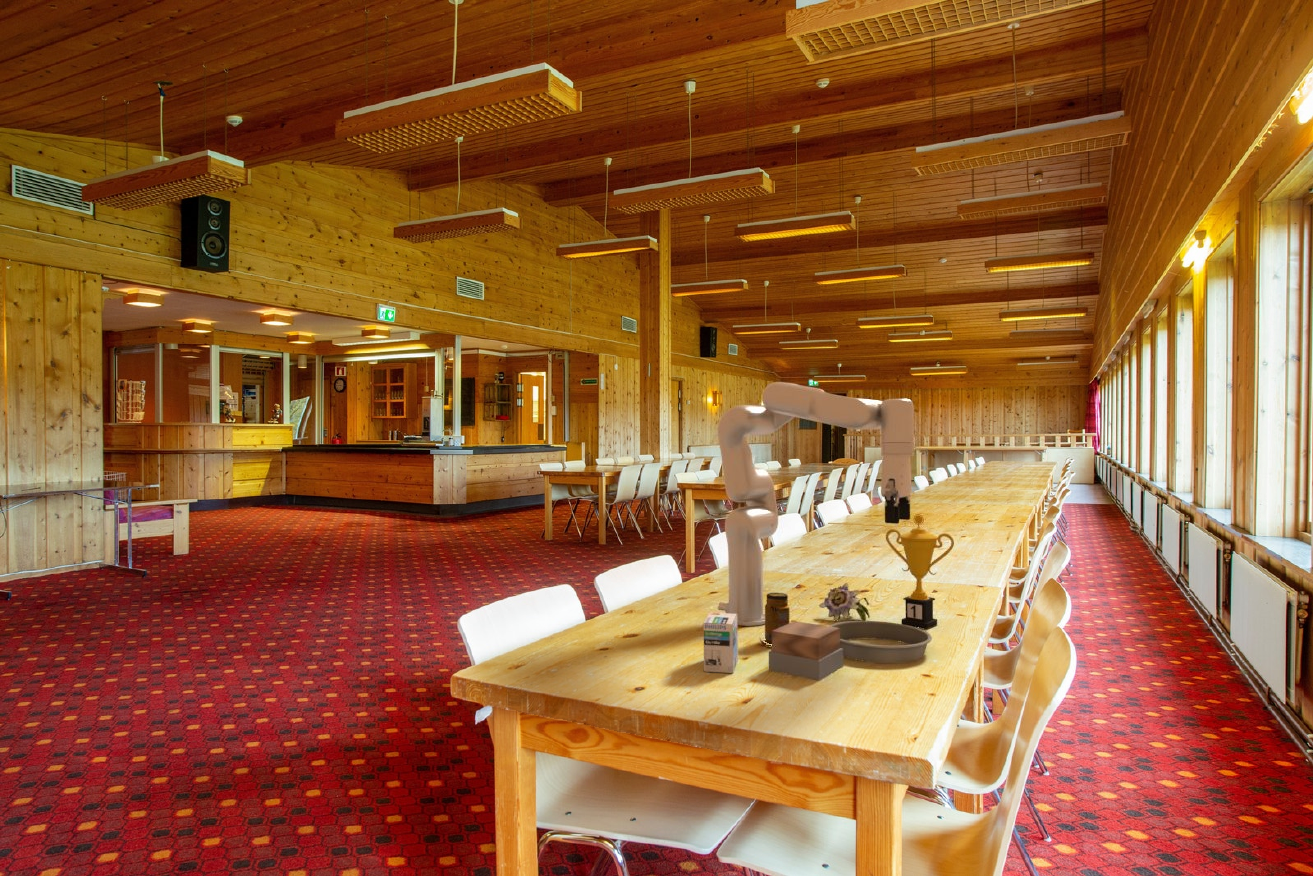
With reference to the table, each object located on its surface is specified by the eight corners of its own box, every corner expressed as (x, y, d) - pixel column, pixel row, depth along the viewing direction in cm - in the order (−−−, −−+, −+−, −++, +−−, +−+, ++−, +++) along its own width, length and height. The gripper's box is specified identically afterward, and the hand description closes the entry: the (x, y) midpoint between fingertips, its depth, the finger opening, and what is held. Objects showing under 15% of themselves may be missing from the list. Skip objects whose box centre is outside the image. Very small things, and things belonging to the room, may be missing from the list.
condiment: (788, 638, 189) (788, 591, 189) (795, 648, 181) (795, 598, 181) (759, 639, 189) (759, 591, 189) (765, 648, 180) (765, 598, 180)
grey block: (768, 672, 163) (768, 651, 163) (794, 659, 173) (794, 640, 173) (819, 682, 156) (819, 661, 156) (843, 668, 165) (843, 648, 165)
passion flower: (837, 640, 207) (811, 604, 210) (850, 625, 216) (825, 590, 218) (868, 623, 201) (841, 585, 203) (880, 608, 210) (854, 572, 212)
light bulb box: (733, 674, 161) (733, 624, 161) (702, 672, 162) (702, 622, 162) (738, 659, 171) (738, 612, 171) (709, 658, 172) (708, 611, 172)
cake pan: (955, 661, 170) (955, 641, 170) (860, 670, 163) (860, 650, 163) (891, 634, 194) (891, 617, 194) (806, 642, 187) (806, 624, 187)
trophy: (877, 622, 205) (877, 513, 206) (894, 616, 212) (893, 510, 212) (946, 634, 192) (945, 518, 192) (962, 627, 199) (961, 515, 199)
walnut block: (772, 651, 163) (771, 630, 163) (794, 640, 172) (794, 621, 172) (818, 660, 157) (818, 638, 157) (840, 648, 165) (839, 628, 165)
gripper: (891, 449, 189) (892, 517, 189) (870, 450, 174) (871, 523, 174) (922, 449, 185) (922, 519, 185) (903, 450, 170) (903, 525, 170)
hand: (897, 521), depth 180 cm, fingers open, 9 cm apart
